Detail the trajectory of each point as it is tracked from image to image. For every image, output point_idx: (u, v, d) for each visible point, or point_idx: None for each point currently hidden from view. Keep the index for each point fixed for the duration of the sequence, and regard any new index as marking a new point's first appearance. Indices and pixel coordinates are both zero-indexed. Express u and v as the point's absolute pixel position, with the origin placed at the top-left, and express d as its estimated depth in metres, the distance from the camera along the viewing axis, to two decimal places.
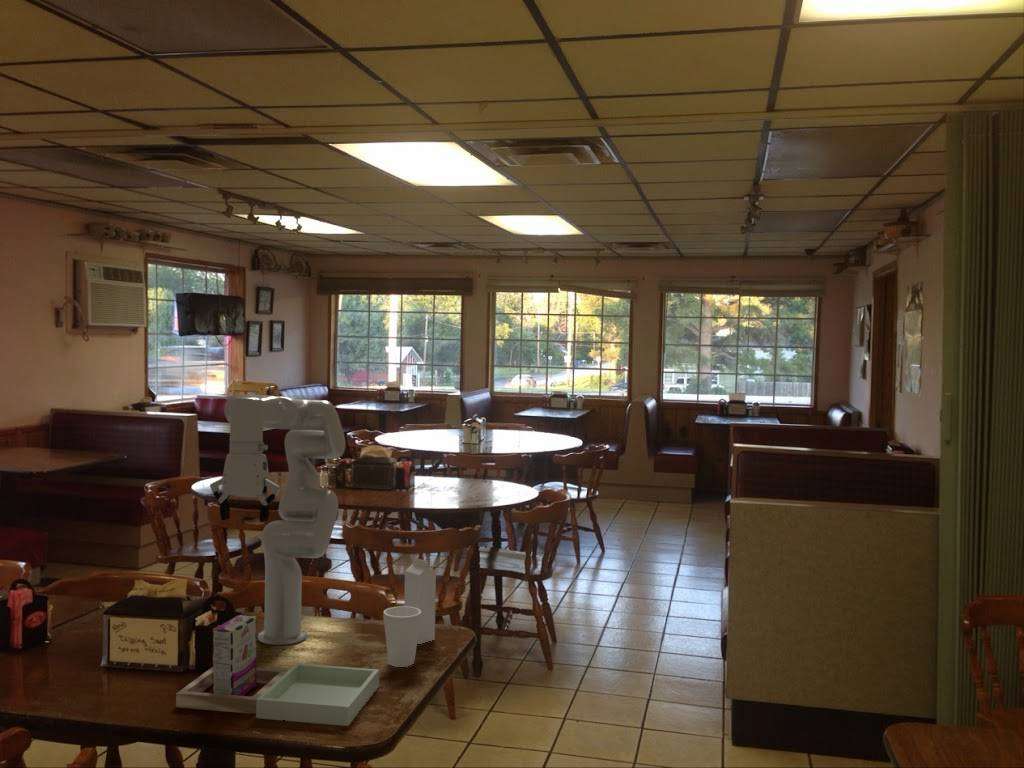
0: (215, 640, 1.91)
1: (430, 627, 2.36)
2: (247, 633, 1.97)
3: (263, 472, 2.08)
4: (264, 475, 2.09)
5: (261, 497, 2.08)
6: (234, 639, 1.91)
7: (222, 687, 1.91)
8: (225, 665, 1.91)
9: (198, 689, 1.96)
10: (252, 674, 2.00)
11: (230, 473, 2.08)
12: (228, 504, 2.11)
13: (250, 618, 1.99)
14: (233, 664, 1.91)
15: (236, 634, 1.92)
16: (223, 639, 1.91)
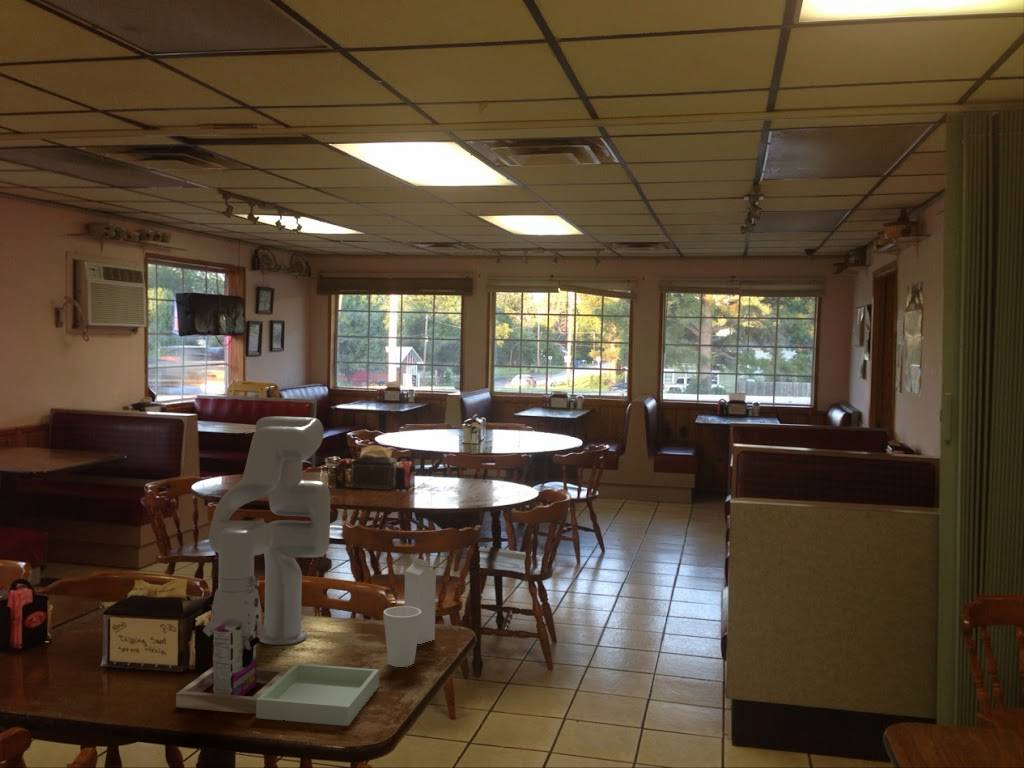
0: (215, 640, 1.91)
1: (430, 627, 2.36)
2: None
3: (255, 610, 1.95)
4: (256, 612, 1.95)
5: (247, 640, 1.95)
6: (234, 639, 1.91)
7: (222, 687, 1.91)
8: (225, 665, 1.91)
9: (198, 689, 1.96)
10: (252, 674, 2.00)
11: (219, 611, 1.94)
12: None
13: None
14: (233, 664, 1.91)
15: (236, 634, 1.92)
16: (223, 639, 1.91)
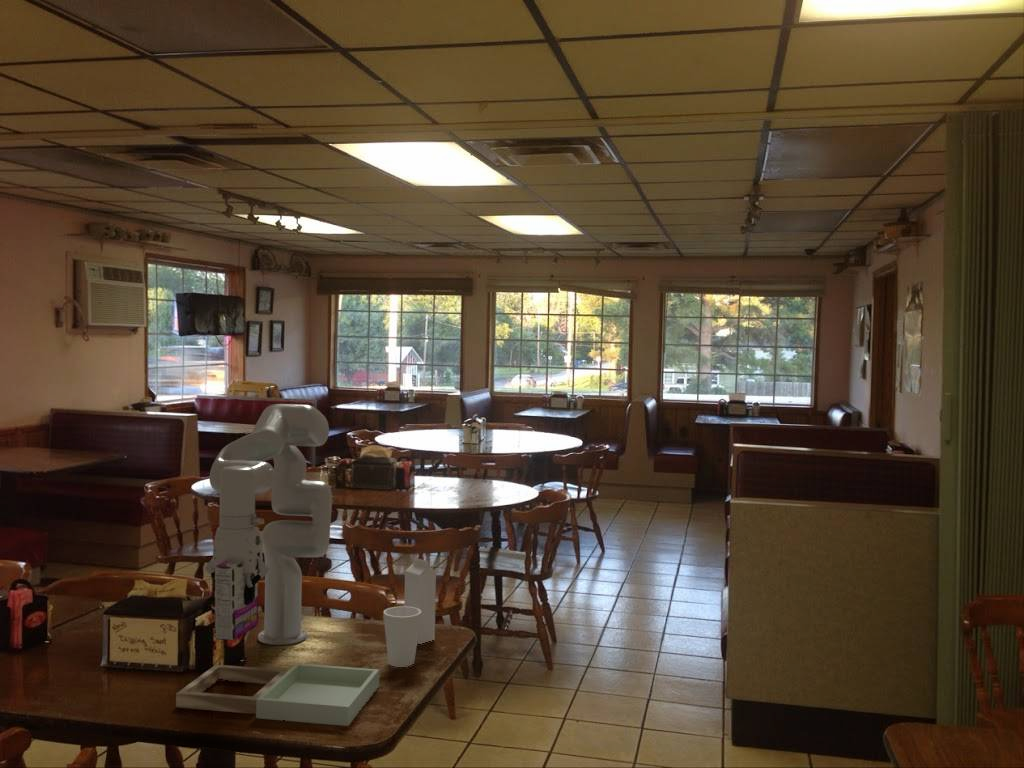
0: (217, 577, 1.91)
1: (430, 627, 2.36)
2: None
3: (256, 547, 1.94)
4: (257, 550, 1.95)
5: (248, 577, 1.94)
6: (235, 576, 1.91)
7: (224, 624, 1.91)
8: (227, 602, 1.91)
9: (198, 689, 1.96)
10: (254, 613, 2.00)
11: (220, 549, 1.94)
12: None
13: None
14: (234, 600, 1.91)
15: (237, 571, 1.92)
16: (224, 576, 1.91)
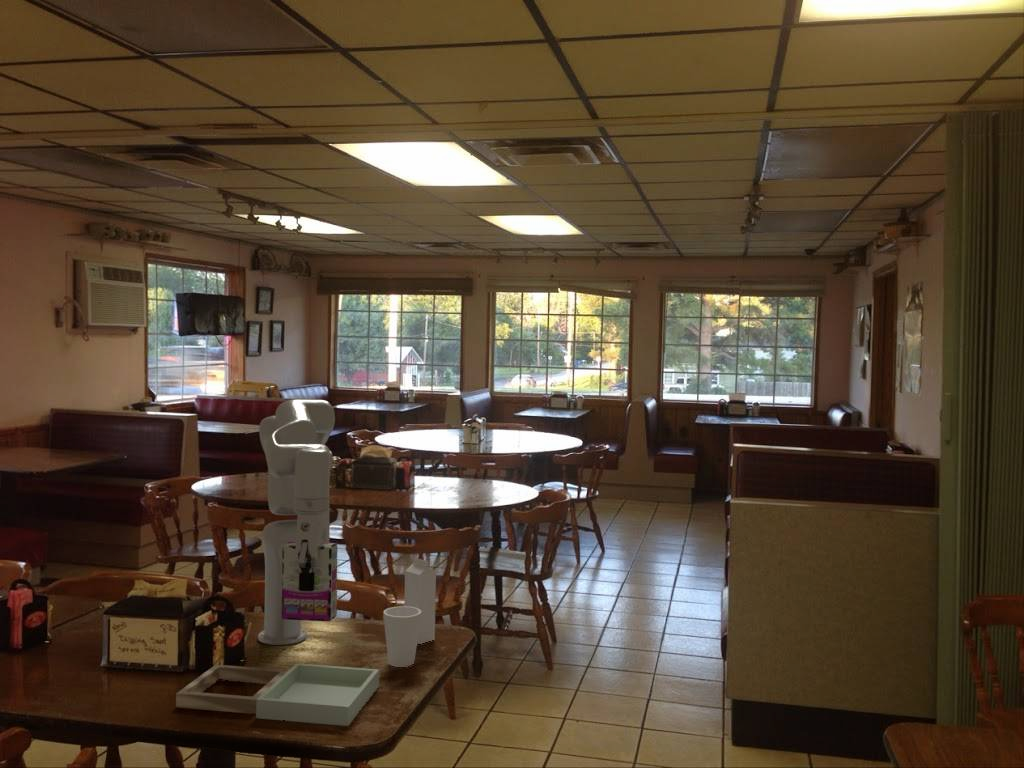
0: None
1: (430, 627, 2.36)
2: None
3: (301, 533, 1.88)
4: (302, 536, 1.88)
5: None
6: (286, 555, 1.92)
7: None
8: None
9: (198, 689, 1.96)
10: (322, 606, 1.91)
11: None
12: None
13: (323, 546, 1.91)
14: (284, 579, 1.92)
15: (289, 551, 1.91)
16: None
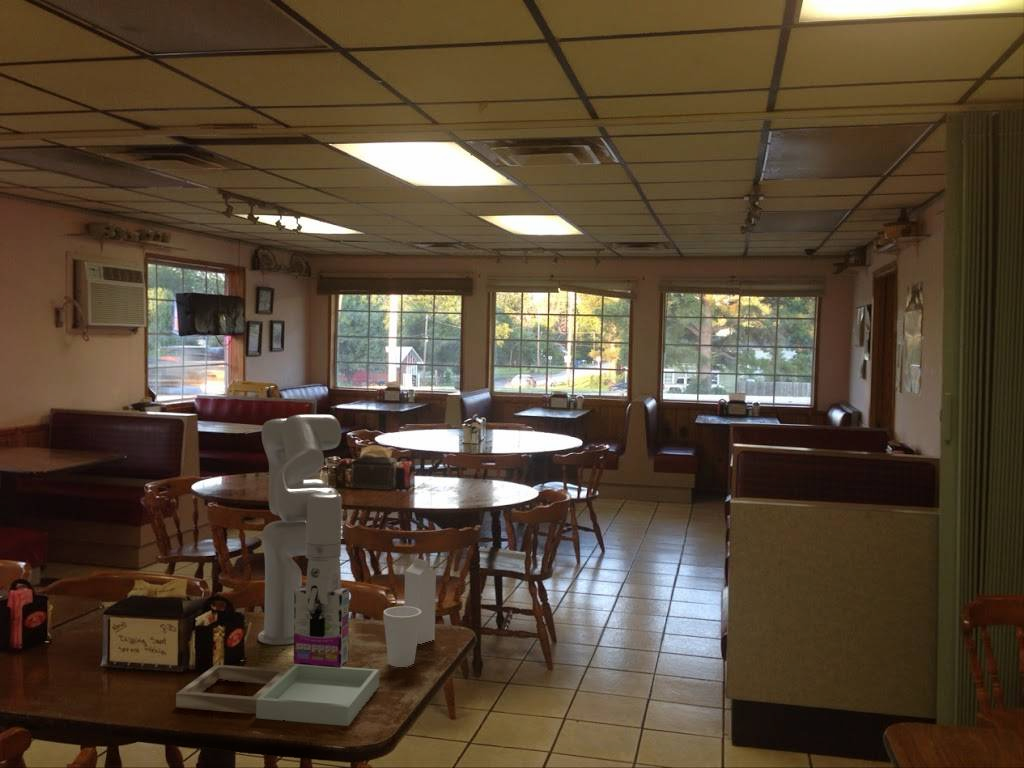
0: None
1: (430, 627, 2.36)
2: None
3: (311, 579, 1.88)
4: (312, 583, 1.88)
5: None
6: (297, 600, 1.92)
7: None
8: None
9: (198, 689, 1.96)
10: (332, 652, 1.90)
11: None
12: None
13: (333, 592, 1.91)
14: (295, 623, 1.92)
15: (301, 596, 1.92)
16: None
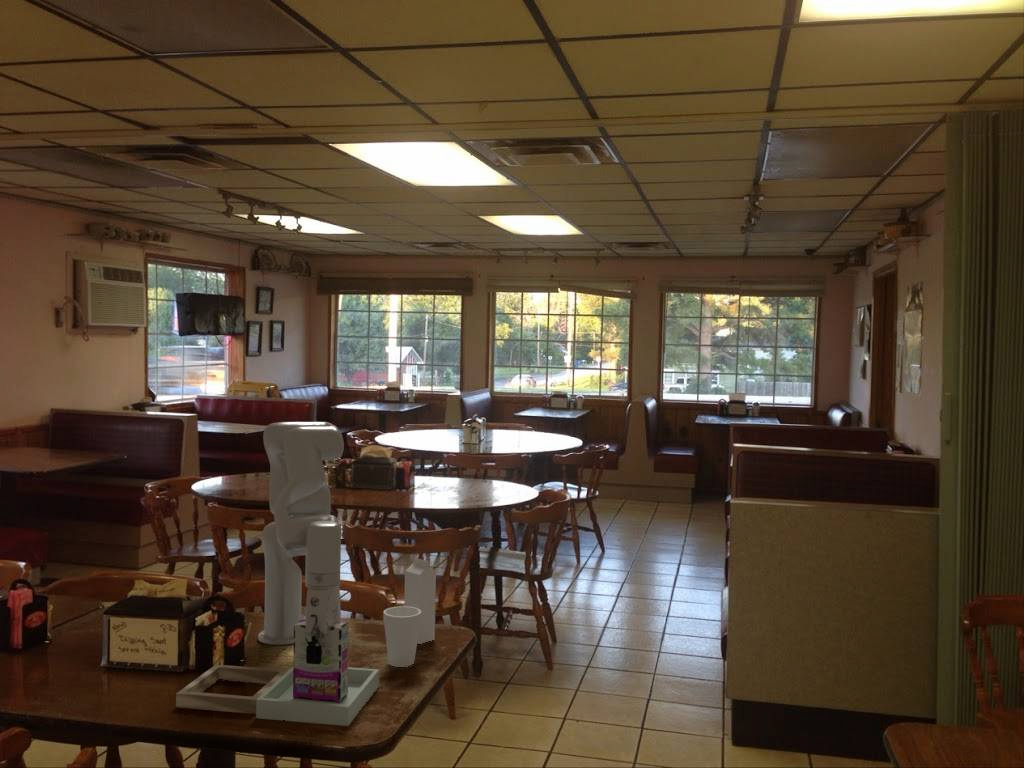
0: None
1: (430, 627, 2.36)
2: (321, 638, 1.91)
3: (310, 608, 1.89)
4: (312, 611, 1.88)
5: None
6: (297, 634, 1.92)
7: None
8: None
9: (198, 689, 1.96)
10: (332, 686, 1.91)
11: None
12: None
13: (333, 626, 1.91)
14: (295, 658, 1.93)
15: (300, 631, 1.92)
16: None
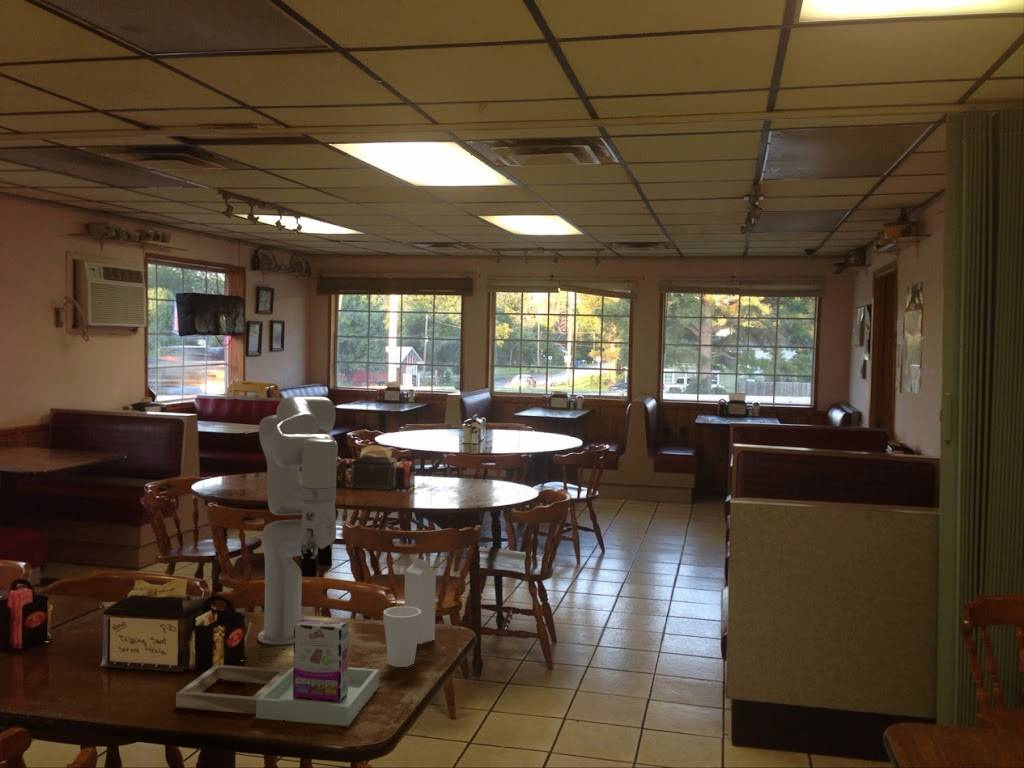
0: None
1: (430, 627, 2.36)
2: (321, 638, 1.91)
3: (306, 522, 1.90)
4: (307, 526, 1.90)
5: None
6: (297, 634, 1.92)
7: None
8: None
9: (198, 689, 1.96)
10: (332, 686, 1.91)
11: None
12: (327, 550, 1.99)
13: (333, 626, 1.91)
14: (295, 658, 1.93)
15: (300, 631, 1.92)
16: None
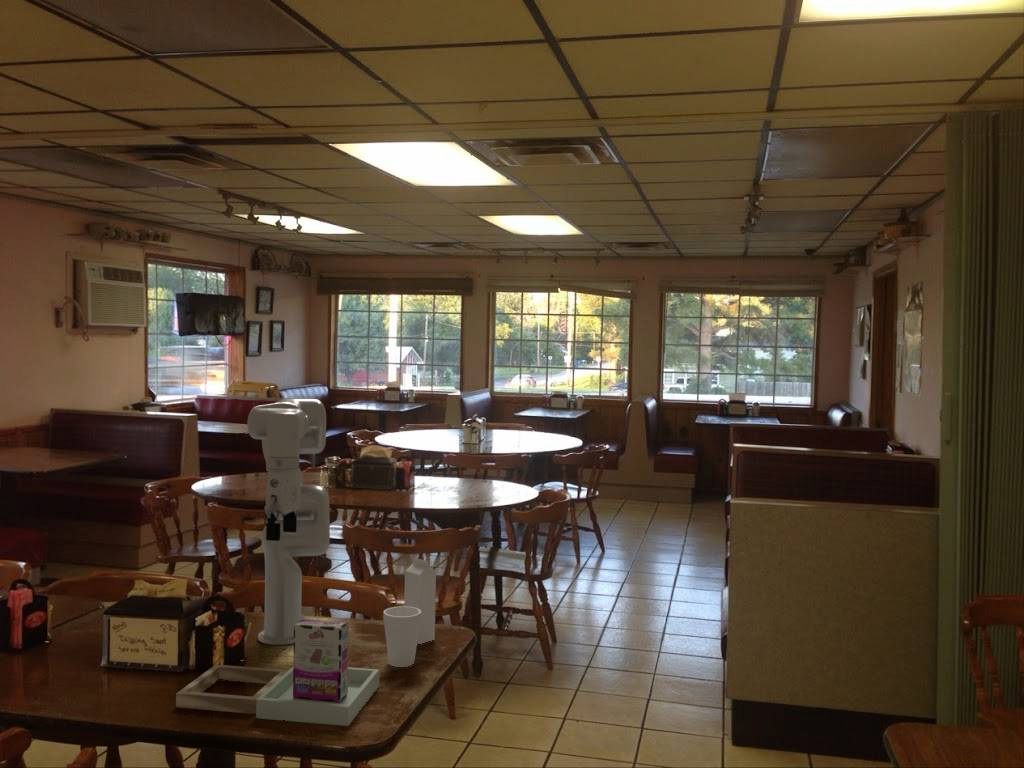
0: None
1: (430, 627, 2.36)
2: (321, 638, 1.91)
3: (270, 489, 2.03)
4: (272, 492, 2.03)
5: None
6: (297, 634, 1.92)
7: None
8: None
9: (198, 689, 1.96)
10: (332, 686, 1.91)
11: None
12: (291, 518, 2.12)
13: (333, 626, 1.91)
14: (295, 658, 1.93)
15: (300, 631, 1.92)
16: None
